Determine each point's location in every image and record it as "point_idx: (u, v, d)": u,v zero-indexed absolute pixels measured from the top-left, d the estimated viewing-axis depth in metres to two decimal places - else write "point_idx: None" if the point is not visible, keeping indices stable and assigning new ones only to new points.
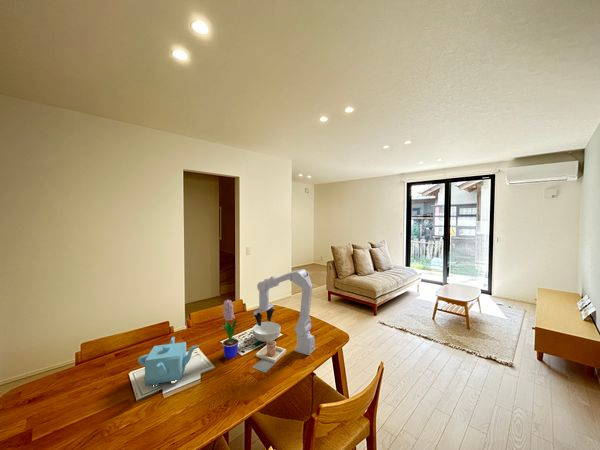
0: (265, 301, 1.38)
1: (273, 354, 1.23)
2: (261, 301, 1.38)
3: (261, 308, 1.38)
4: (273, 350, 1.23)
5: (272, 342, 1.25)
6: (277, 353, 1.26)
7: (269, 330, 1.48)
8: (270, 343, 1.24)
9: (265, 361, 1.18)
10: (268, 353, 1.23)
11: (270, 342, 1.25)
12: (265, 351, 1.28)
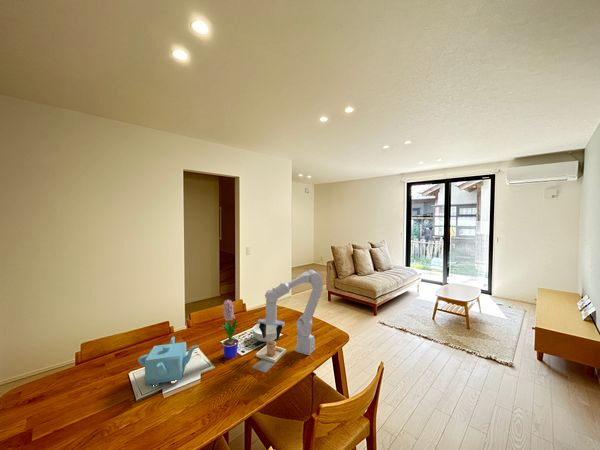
0: (275, 313, 1.24)
1: (273, 354, 1.23)
2: (272, 314, 1.22)
3: (265, 320, 1.25)
4: (273, 350, 1.23)
5: (272, 342, 1.25)
6: (277, 353, 1.26)
7: (269, 330, 1.48)
8: (270, 343, 1.24)
9: (265, 361, 1.18)
10: (268, 353, 1.23)
11: (270, 342, 1.25)
12: (265, 351, 1.28)
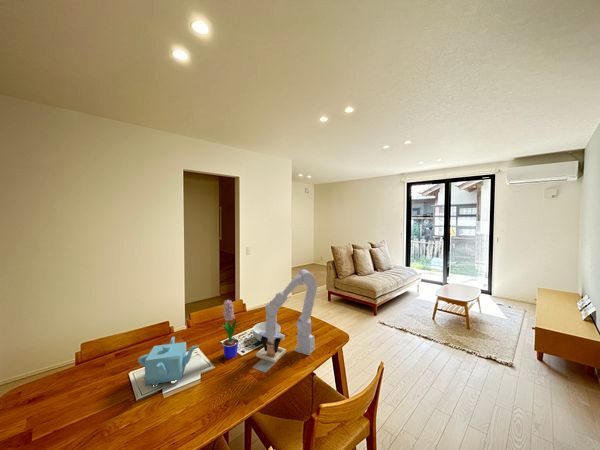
0: (275, 326, 1.24)
1: (273, 354, 1.23)
2: (272, 327, 1.22)
3: (265, 332, 1.25)
4: (273, 350, 1.23)
5: (272, 342, 1.25)
6: (277, 353, 1.26)
7: None
8: (270, 343, 1.24)
9: (265, 361, 1.18)
10: (268, 353, 1.23)
11: (270, 342, 1.25)
12: (265, 351, 1.28)
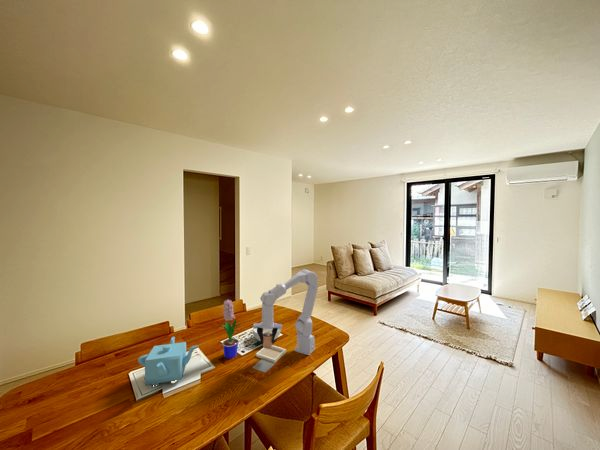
0: (272, 315, 1.19)
1: (270, 346, 1.19)
2: (269, 317, 1.17)
3: (262, 323, 1.19)
4: (270, 342, 1.19)
5: (268, 334, 1.21)
6: (277, 353, 1.26)
7: (269, 330, 1.48)
8: (267, 335, 1.19)
9: (265, 361, 1.18)
10: (265, 345, 1.19)
11: (266, 334, 1.20)
12: (265, 351, 1.28)
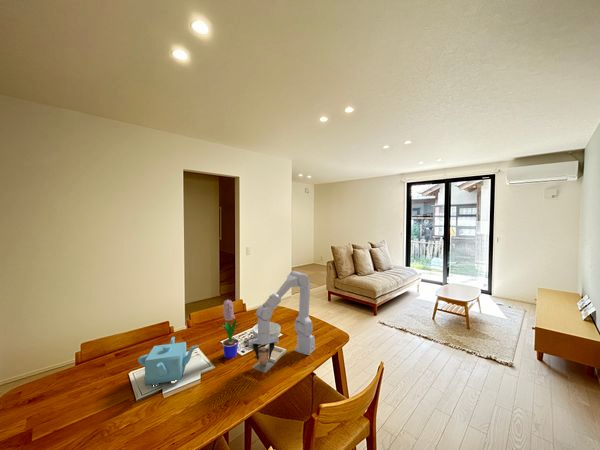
0: (269, 330, 1.15)
1: (267, 361, 1.15)
2: (266, 332, 1.13)
3: (258, 339, 1.14)
4: (267, 357, 1.14)
5: (265, 349, 1.16)
6: (277, 353, 1.26)
7: None
8: (263, 351, 1.14)
9: None
10: (261, 361, 1.14)
11: (262, 349, 1.15)
12: None
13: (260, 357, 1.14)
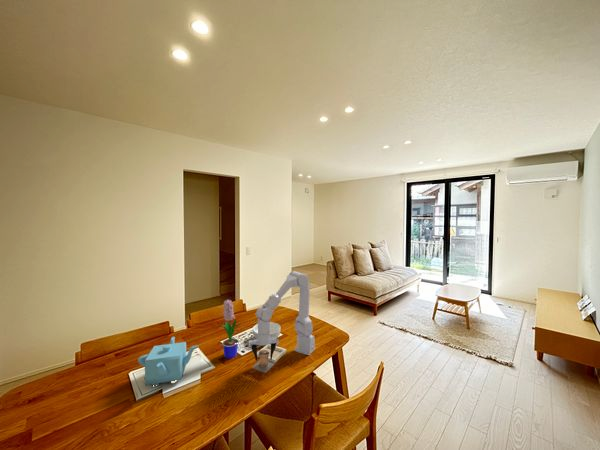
0: (269, 330, 1.15)
1: (267, 364, 1.15)
2: (266, 332, 1.13)
3: (258, 340, 1.14)
4: (267, 360, 1.15)
5: (265, 351, 1.16)
6: (277, 353, 1.26)
7: None
8: (263, 353, 1.15)
9: None
10: (261, 364, 1.14)
11: (262, 352, 1.16)
12: None
13: (260, 359, 1.14)
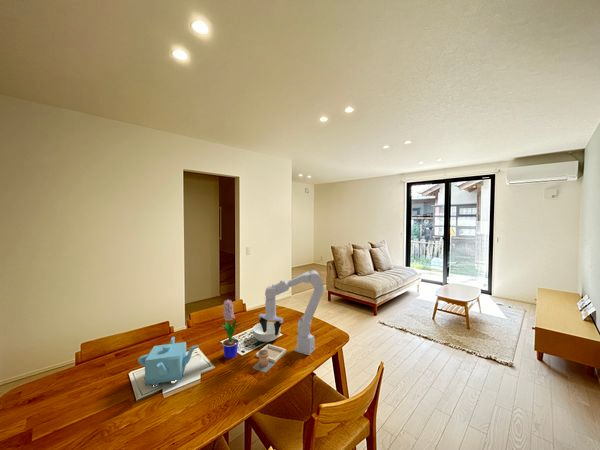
0: (274, 309, 1.27)
1: (267, 364, 1.15)
2: (270, 309, 1.26)
3: None
4: (267, 360, 1.15)
5: (264, 351, 1.16)
6: (277, 353, 1.26)
7: (269, 330, 1.48)
8: (263, 353, 1.15)
9: None
10: (261, 364, 1.14)
11: (262, 352, 1.16)
12: None
13: (260, 359, 1.14)
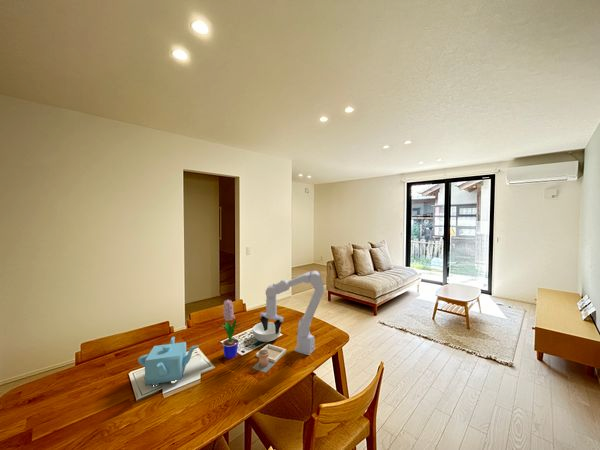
0: (274, 307, 1.28)
1: (267, 364, 1.15)
2: (270, 308, 1.27)
3: None
4: (267, 360, 1.15)
5: (265, 351, 1.16)
6: (277, 353, 1.26)
7: (269, 330, 1.48)
8: (263, 353, 1.15)
9: None
10: (261, 364, 1.14)
11: (262, 352, 1.16)
12: None
13: (260, 359, 1.14)
